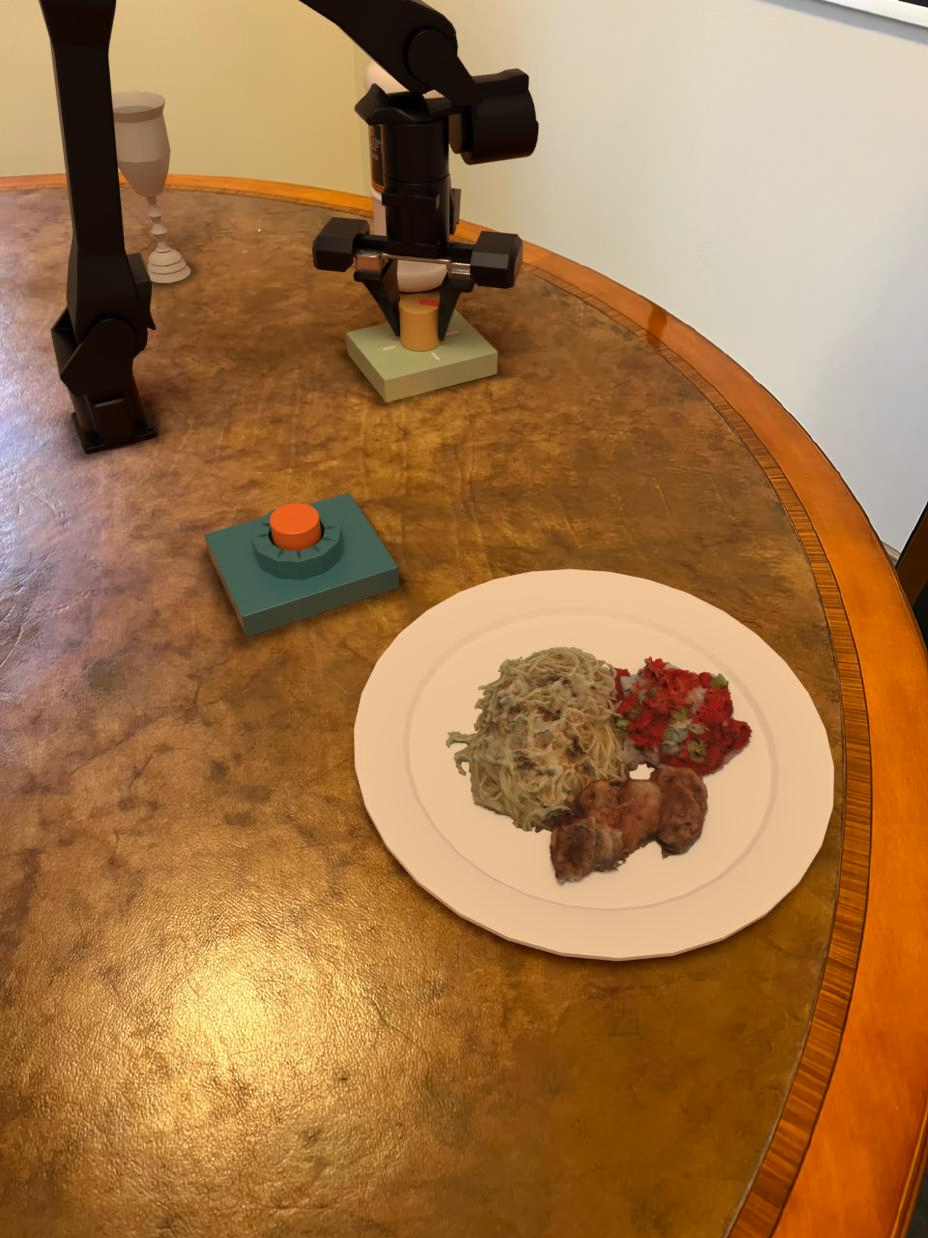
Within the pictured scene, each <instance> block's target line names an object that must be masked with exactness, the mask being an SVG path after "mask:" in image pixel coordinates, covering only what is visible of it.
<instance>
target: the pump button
mask: <svg viewBox="0 0 928 1238" xmlns="http://www.w3.org/2000/svg"><path fill="white" fill-rule="evenodd" d="M274 510H275V509H274ZM270 526H271V532H272V537H273V541H274V543H275V544H276V545H277V546H278V547H279V548H281V549H283V550H295V551H300V550H303V549H306V548H309V547H313V546H314V545H316V544H317V543H318V541H319V540H320V538H321V527H320V519H319V514H318V512H317V511H316V509H315V508H313V507H312V506H310V505H308V504H307V503H303V502H302V503H301V502H291V503H287V504H283V505H281V506H279V507H277V508H276V510H275V511H274V512H273V513H272V515H271V517H270Z"/></svg>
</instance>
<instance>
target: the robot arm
mask: <svg viewBox="0 0 928 1238" xmlns="http://www.w3.org/2000/svg"><path fill="white" fill-rule="evenodd" d="M298 1H299V2H301V3H302V4H303V5H305V6H306V7H308V8H309V9H311V10H313V11H314V12H315V13H318V14H319V15H321V16H322V17H324V18H325V19H326V20H328V21H330V22H331V23H333V24H334V25H335V26H336V27H337V28H339V30H341V31H342V32H343V34H344V35H346V36H347V37H348V38H349V39H350V40H351V41H352V42H353V43H354V44H355V45H356V46H357V47H358V48H359V49H360V50H361V51H363V52H364V53H365V54H366V55H367V56H368V57H369V58H370V59H371V61H372V60H373V61H374V62H376V63H377V64H378V65H379V66H380V67H381V68H382V69H383V70H385V71H386V72H387V73H388V74H389V75H390V76H391V77H393V78H394V79H395V80H396V81H397V82H398V83H400V84H401V85H402V86H403V87H404V88H406V89H407V90H409V91H402V92H394V93H385V91H384V90H383V89H382V88H381V87H379V86H378V85H377V84H376V83H373V84H372V85H371V87H370V89H369V91H368V93H367V94H366V93H365V95H363V96H362V97H361V98H360V99H359V100H358V101H357V102H356V104H355V105H354V106H353V107H354V108H353V110H354V112H355V113H356V114H357V115H358V117H360V119H362V120H363V121H364V123H365V124H367V126H368V125H369V126H374V125H381V141H382V160H383V181H384V190H383V192H382V193H381V199H382V205H383V206H385V218H386V236H382V235H374V234H373V233H372V234H371V226H370V224H369V222H368V220H367V219H362V218H352V217H351V218H350V217H341V216H331V217H330V218H329V219H328V221H326V223H325V224H324V226H323V227H322V228H321V230H320V231H319V232H318V234H316V236H315V237H314V239H313V240H312V248H311V252H312V261H313V267H314V268H315V269H316V270H318V271H327V272H336V273H337V272H338V273H346V272H347V271H348V269H350V268H351V267H352V266H353V264H355V266H354V267H355V270H354V272H353V273H352V278H353V281H355V282H356V283H361V284H363V285H364V287H365V288H366V290H367V291H368V293H369V294H370V295H371V297H372V298H373V299H374V301H375V302H376V304H377V305H378V307H379V309H380V310H381V312H382V314H383V316H384V318H385V320H386V321H387V323H389V325H390V327H391V328H392V330H393V332H394V334H395V336H397V337H400V318H399V302H400V300H401V295H400V291H399V286H398V278H397V269H398V260H405V261H416V262H426V263H436V264H446V270H448V271H447V273H446V275H445V277H444V279H443V281H442V283H441V285H440V286H439V319H438V335H439V341H442V342H443V341H444V339H445V336H446V333H447V330H448V327H449V324H450V321H451V318H452V315H453V312H454V309H455V310H456V306H457V303H458V300H459V298H460V297H461V295H462V294H469V293H472V292H473V291H474V289H475V286H476V285H477V286H478V287H482V288H483V287H484V288H494V289H501V290H502V289H503V290H508V289H511V288H514V286H515V284H516V281H517V279H518V275H519V273H520V270H521V268H522V265H523V259H524V241H523V240H522V238H521V237H520V235H519V234H518V233H511V232H499V231H489V230H481V231H480V233H479V235H478V237H477V240H476V242H474V241H473V242H472V241H456V242H453V241H450V236H454V235H455V234H456V231H457V225H459V224H460V213H461V199H462V198H461V197H462V189H461V188H455V187H452V179H451V173H450V149H451V151H452V153H453V154H454V155H460V158H461V159H462V160H463V163H465V165H468V166H475V165H482V164H490V163H495V162H496V163H497V162H504V161H511V160H516V159H522V158H528V157H531V156H532V155H533V154H534V153H535V151H536V147H537V145H538V140H539V132H540V131H539V130H540V124H539V121H538V120H537V111H536V105H535V103H534V99H533V97H532V94H531V92H530V90H529V87H530V76H529V75H528V74H527V73H526V72H525V71H523V70H522V69H520V68H518V67H517V68H508V69H504V70H502V71H499V72H496V73H489V74H487V73H486V74H479V75H471V74H470V72H469V70H468V69H467V68H466V66H465V65H464V63H463V61H462V60H461V58H460V56H458V55H459V54H458V53H459V43H458V38H457V30H456V28H455V26H454V25H453V23H452V22H451V21H450V20H449V19H448V18H447V16H445V14H443V13H441V12H440V11H438V10H437V9H435V8H434V7H432V6H431V5H429V4H428V3H427V2H425V1H423V0H298ZM37 2H38V5H39V8H40V11H41V14H42V18H43V21H44V24H45V28H46V31H47V35H48V38H49V46H50V54H51V62H52V63H51V64H52V71H53V79H54V87H55V97H56V103H57V112H58V120H59V128H60V136H61V137H60V138H61V145H62V154H63V161H64V169H65V170H64V171H65V178H66V186H67V194H68V195H67V196H68V201H69V202H68V203H69V211H70V219H71V227H72V237H71V243H70V250H69V256H68V261H67V262H68V263H67V277H66V292H65V298H66V299H65V301H66V306H65V307H64V309H63V310H62V312H61V314H59V316H58V318H57V319H56V321H55V322H54V324H53V325H52V327H51V328H50V336H51V340H52V341H51V342H52V346H53V350H54V357H55V361H56V365H57V370H58V374H59V376H58V377H59V379H60V381H61V382H62V384H63V385H64V386H65V387H66V389H67V392H68V394H69V398H70V401H71V404H72V406H73V409H74V412H72V413H71V419H72V422H73V424H74V427H75V430H76V433H77V435H78V438H79V441H80V444H81V447H82V449H83V452H84V453H93V452H97V451H102V450H105V449H109V448H113V447H117V446H121V445H125V444H129V443H133V442H138V441H141V440H145V439H150V438H153V437H155V436H157V435H158V430H157V427H156V426H155V423H154V421H153V419H152V417H151V414H150V412H149V410H148V408H147V406H146V404H145V401H144V399H143V398H142V397H141V396H140V393H139V389H138V386H137V381H136V379H135V378H136V377H135V374H134V370H133V367H134V359H135V358H136V357H137V356H138V355H139V354H141V352H143V351H145V350H146V347H147V344H148V340H149V339H148V338H149V330H152V331H156V330H157V326H156V323H155V320H154V318H153V315H152V313H151V303H152V302H151V301H152V296H153V295H152V294H153V281H151V279H150V276H149V273H148V271H147V269H148V268H147V265H146V262H145V260H144V258H143V255H142V253H141V252H133V253H127V250H126V246H125V243H126V242H125V233H124V232H125V231H124V221H123V210H122V209H123V208H122V198H121V186H120V185H121V184H120V174H119V168H118V161H117V150H116V138H115V126H114V115H113V103H112V93H113V92H112V79H111V71H110V70H111V68H110V57H109V53H110V46H111V45H110V44H111V39H112V33H113V28H114V21H115V15H116V10H117V9H116V8H117V0H38V1H37ZM432 90H435V91H437V92H438V93H440V94H441V95H443V96H444V97H438V98H424V96H423V94H426V93H427V92H430V91H432ZM148 329H149V330H148Z"/></svg>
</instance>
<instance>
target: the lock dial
mask: <svg viewBox="0 0 928 1238" xmlns="http://www.w3.org/2000/svg"><path fill="white" fill-rule="evenodd" d="M439 300H440V298H438V297H437V296H435V295H432V294H429V293H412V294H409V295H405V296H403V297H402V298H400V302H399V318H400V340H401V344H402V345H403V346H404V347H405V348H407V349H409V350H413V351H428V350H432V349H434V348H436V347H438V346H439V345H440V343H441V341H439V335H438V319H439Z"/></svg>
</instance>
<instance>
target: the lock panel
mask: <svg viewBox="0 0 928 1238" xmlns="http://www.w3.org/2000/svg"><path fill="white" fill-rule="evenodd" d="M345 337H346V349H347V355H348V357H349V358H350V359H351V361H352V362H353V363H354V364H355V365H356V367H357V368H358V369H359V370H360V372H361V373H362V374H363V376H364V377H365V378H366V379H367V381H368V382H369V383H370V384H371V386H372V387H373V389H375V391H376V392H377V393H378V394H379V396H380V397H381V398H382V400H383V401H384V402H385V403H387V404H388V403H390V402H394V401H398V400H402V399H406V398H410V397H414V396H417V395H421V394H425V393H429V392H433V391H437V390H442V389H445V388H449V387H452V386H456V385H460V384H464V383H468V382H471V381H475V380H480V379H483V378H488V377H492V376H495V375H497V374H498V360H499V359H498V358H499V357H498V355H499V352H498V350H497V349H496V348H495V347H494V346H493V345H491V344H490V342H489V341H488V340H487V339H485V337H484V336H483V335H482V334H481V333H479V331H478V330H477V329H476V328H475V327H474V326H472V324H471V323H469V321H467V320H466V318H465V317H464V316H463V315H461V313H460V312H459V311H458V310H456V308H455V309H454V312H453V315H452V318H451V321H450V324H449V327H448V330H447V333H446V336H445V339H444V341H443V342H442V341H441V343H440V345H439V346H438V347H436V348H434V349H432V350H428V351H413V350H409V349H407V348H405V347H404V346H403V345H402V344H401V340H400V337H397V336H395V334H394V332H393V330H392V328H391V327H390V325H389V323H388V322H384V323H380V324H376V325H372V326H367V327H363V328H359V329H353V330H350V331H346V332H345Z"/></svg>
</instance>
